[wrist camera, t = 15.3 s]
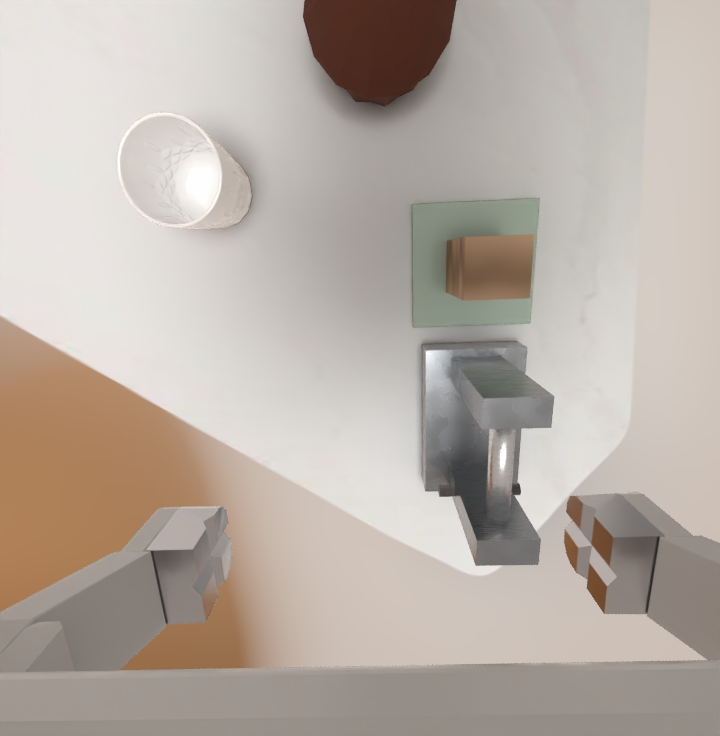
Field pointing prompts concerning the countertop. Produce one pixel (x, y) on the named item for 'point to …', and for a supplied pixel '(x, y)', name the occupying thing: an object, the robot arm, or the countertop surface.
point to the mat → (430, 252)
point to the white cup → (181, 174)
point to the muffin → (378, 43)
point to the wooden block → (490, 267)
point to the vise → (482, 442)
